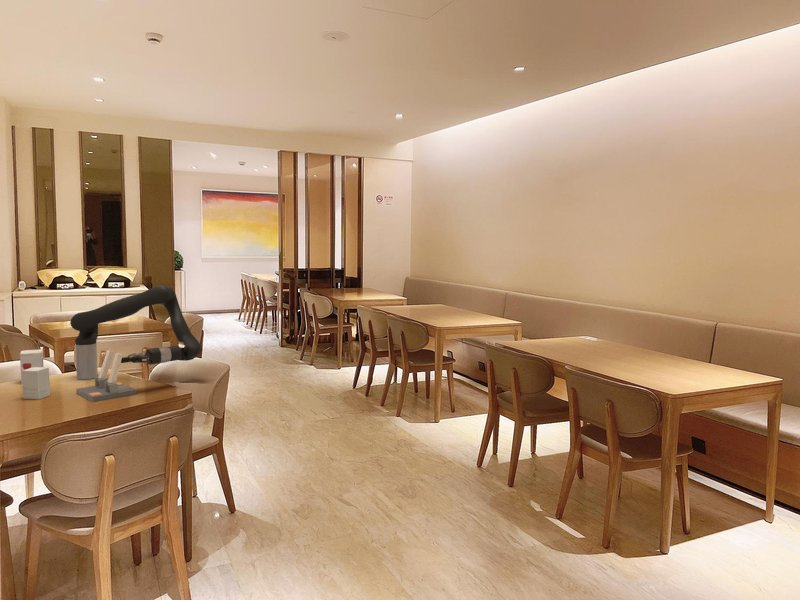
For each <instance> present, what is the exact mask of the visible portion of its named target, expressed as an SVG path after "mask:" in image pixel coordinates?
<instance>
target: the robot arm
mask: <svg viewBox="0 0 800 600" xmlns="http://www.w3.org/2000/svg"><path fill="white" fill-rule="evenodd" d="M154 305H163V306H164V308H165V309H166V311H167V313H168V315H169V319H170V326H171V329H172V331H173V333H174V335H175V337H176V339H177V341H178V342H179V343H183V344H184V346H185V347H180V346H178V345H174V346H173V345H171V346H161V347H160V346H159V347H152V348H147V349H146V350H145V352H139V353H135V352H134V353H131V354H128V355H127V356H124V357H123V356H122V360H121V364H125V363H131V364H132V363H133V364H135V363H137V364H139V363H140V364H141V363H143V364H144V363H147V365H150V366H151V365H159V364H166V363H169V362H175V361H183V362H186V361H187V362H188V361H192V360H194V359H195V358H197V357H198V356H199V355H200V354H201V353H202V350H203V349H202V346H201V343H200V341H199V340H198V339H197V338H196V337H195V336H194V335H193V333H192V331H191V329H190V326H189V325H188V323H187V321H186V319H185V317H184V315H183V312H182V310H181V306H180V304H179V301H178V297H177V294H176V291H175V289H173V287H171V286H169V285H163V284H159V285H156V286H154V287H151V288H149V289H147V290H144V291H142V292H141V293H136V294H131V295H130V296H129V295H128V296H126V297H122V298H120V299H117V300H114V301H112V302H109V303H107V304H104V305H101V306H100V307H98V308H95V309H92V310H88V311H81V312H78V313H75V314H74V315H73V316H72V317H71V319H70V324H69V325H70V326H71V328H72V329H73V330H75V331H78V332H79V333H78V336H77V337H76V338H75V340H74V344H75V345H74V346H75V365H76V367H75V368H76V372H75V373H76V379H77V380H90V379H95V378H96V377H98V376H99V373H98V372H99V371H98V348H97V340H98V337H99V325H100V324H103V323H107V322H112V321H113V322H114V321H117V320H121V319H124V318H127V317H131V316H132V315H135V314H136V313H138V312H140V311H141V310H142V309H144V308H146V307H150V306H154Z"/></svg>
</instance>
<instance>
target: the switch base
mask: <svg viewBox="0 0 800 600" xmlns="http://www.w3.org/2000/svg"><path fill="white" fill-rule="evenodd" d="M97 379H98V377H96V378H94V385H92V386H86V387H80V388H76V391H75V392H76V394H77V395H79V396H81V397H82V398H84V399H86V400H89V401H90V402H92V403H93V402H100V401H105V400H111V399H115V398H122V397H127V396H133V394H134V395H137V389H135V388H134V387H131V386H128V385H126V384H124V383H121V382H119V381H118V382H117V381H116V383H114V384H109V387H108V386H107V383H108V378H105V379H100V380H99V382H97Z"/></svg>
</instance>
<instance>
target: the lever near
mask: <svg viewBox="0 0 800 600" xmlns="http://www.w3.org/2000/svg"><path fill="white" fill-rule="evenodd" d="M123 356H124V355H123V354H122V353H119V352H114V356H113V357H114V358H113V362H112V365H111V369H110V373H109V376H108V379H107V382H108V383H107V386H108V387H109V384H114V383H116V382H117V380H118V379H117V378H118V376H119V375H118V374H119V370H120V367H121V365H122V363H121V360H122V358H123Z"/></svg>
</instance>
